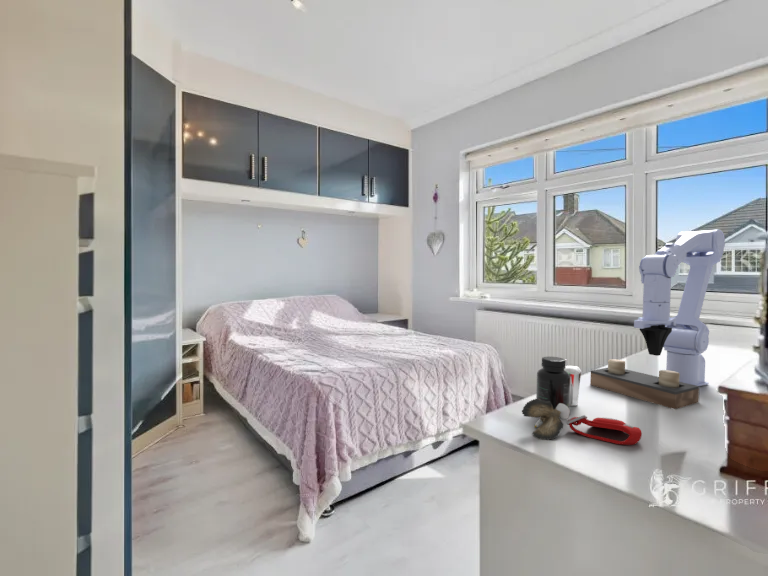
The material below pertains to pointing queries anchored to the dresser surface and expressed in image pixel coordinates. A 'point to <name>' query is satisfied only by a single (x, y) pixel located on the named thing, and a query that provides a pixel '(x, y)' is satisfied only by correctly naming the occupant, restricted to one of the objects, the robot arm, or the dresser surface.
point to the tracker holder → (609, 424)
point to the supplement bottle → (553, 382)
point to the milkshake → (573, 382)
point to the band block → (646, 388)
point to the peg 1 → (616, 366)
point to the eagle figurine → (546, 417)
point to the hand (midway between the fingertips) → (654, 354)
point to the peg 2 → (669, 378)
